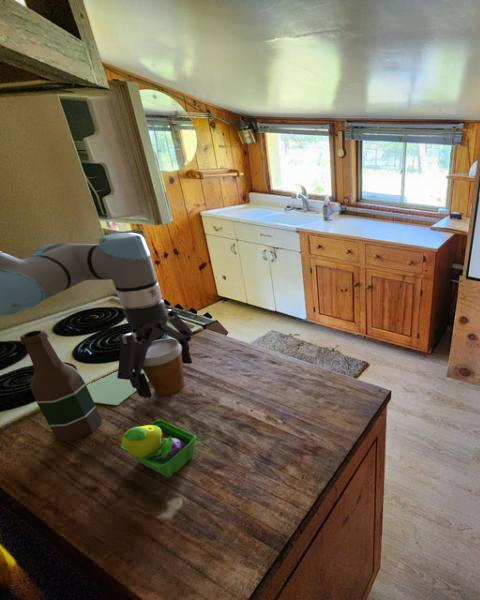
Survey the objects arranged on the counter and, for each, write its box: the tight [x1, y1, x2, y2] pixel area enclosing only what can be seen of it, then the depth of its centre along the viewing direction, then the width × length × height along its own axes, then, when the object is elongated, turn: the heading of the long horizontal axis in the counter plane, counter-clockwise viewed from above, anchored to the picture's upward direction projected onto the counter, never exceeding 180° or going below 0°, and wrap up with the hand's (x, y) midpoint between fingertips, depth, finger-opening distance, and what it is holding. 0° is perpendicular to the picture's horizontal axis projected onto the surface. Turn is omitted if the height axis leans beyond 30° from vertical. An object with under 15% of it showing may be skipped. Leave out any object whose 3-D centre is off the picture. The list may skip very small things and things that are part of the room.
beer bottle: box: [19, 329, 103, 442], centre depth 65 cm, size 8×8×24 cm
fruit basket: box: [120, 419, 197, 479], centre depth 62 cm, size 11×9×11 cm
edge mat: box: [86, 369, 150, 407], centre depth 84 cm, size 14×14×1 cm
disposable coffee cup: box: [142, 338, 185, 396], centre depth 81 cm, size 10×10×12 cm
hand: (167, 378), depth 82 cm, fingers open, 13 cm apart
